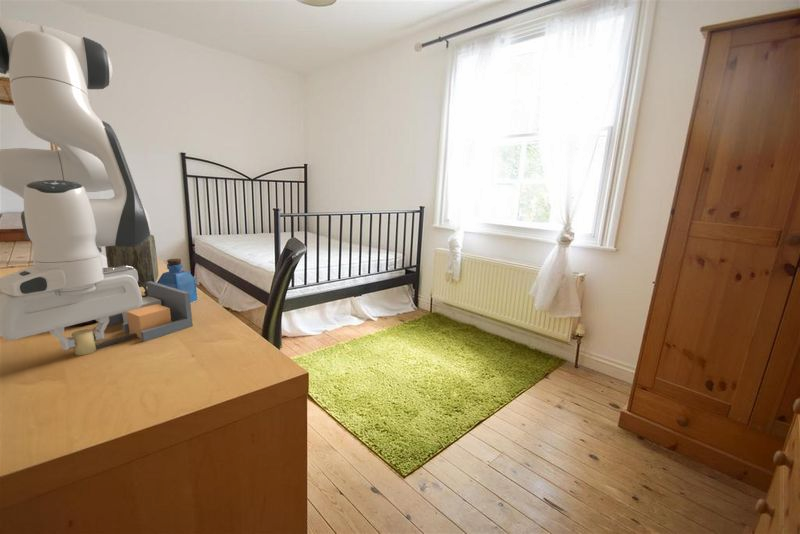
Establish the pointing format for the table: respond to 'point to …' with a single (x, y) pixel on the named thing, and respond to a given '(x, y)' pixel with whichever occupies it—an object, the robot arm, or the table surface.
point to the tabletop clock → (136, 260)
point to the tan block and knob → (137, 322)
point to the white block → (144, 305)
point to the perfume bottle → (179, 278)
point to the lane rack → (169, 298)
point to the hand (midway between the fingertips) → (84, 343)
